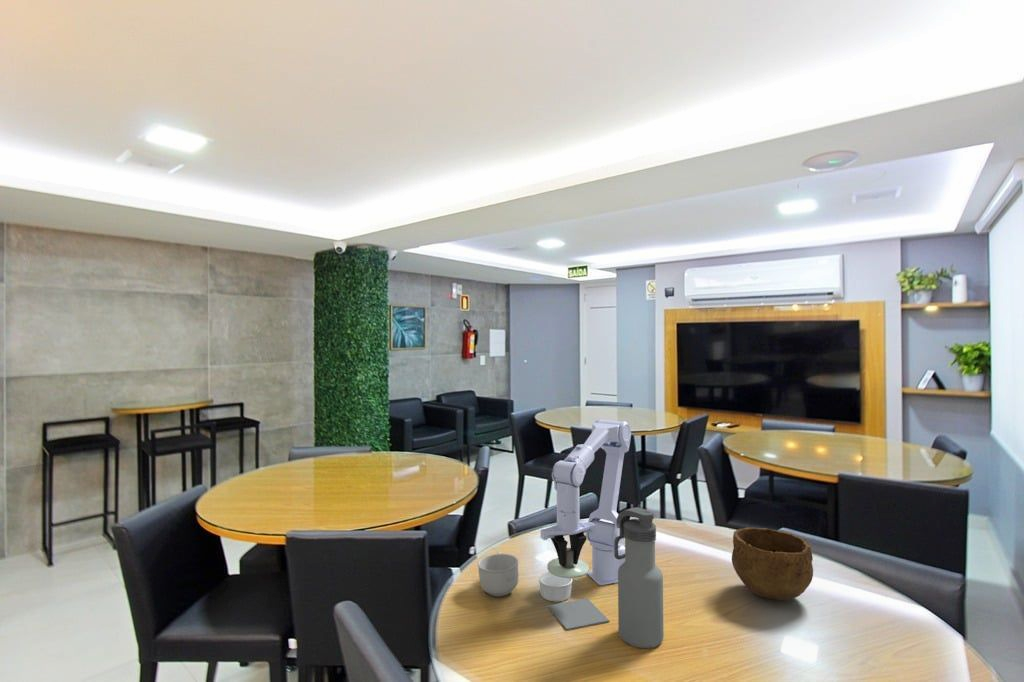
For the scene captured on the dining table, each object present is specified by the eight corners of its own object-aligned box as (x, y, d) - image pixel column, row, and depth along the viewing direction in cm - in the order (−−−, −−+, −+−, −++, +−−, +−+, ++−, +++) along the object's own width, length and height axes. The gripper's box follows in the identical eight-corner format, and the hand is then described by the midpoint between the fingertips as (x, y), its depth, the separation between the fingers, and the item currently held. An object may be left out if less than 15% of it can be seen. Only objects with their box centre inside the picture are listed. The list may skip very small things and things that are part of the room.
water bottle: (607, 633, 111) (606, 509, 112) (635, 619, 117) (634, 501, 118) (644, 655, 103) (643, 521, 104) (672, 639, 109) (671, 511, 110)
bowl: (808, 586, 133) (807, 531, 134) (818, 621, 116) (817, 557, 117) (732, 573, 141) (731, 521, 142) (731, 604, 124) (730, 544, 125)
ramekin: (534, 589, 133) (534, 572, 133) (565, 585, 135) (565, 569, 135) (544, 605, 124) (544, 588, 124) (577, 601, 126) (577, 584, 126)
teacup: (514, 603, 125) (514, 571, 126) (473, 598, 127) (473, 567, 128) (523, 578, 139) (523, 549, 139) (486, 575, 141) (486, 546, 141)
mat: (587, 599, 127) (587, 598, 127) (609, 621, 116) (609, 620, 116) (548, 607, 123) (548, 605, 123) (566, 630, 113) (566, 628, 113)
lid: (576, 557, 131) (576, 539, 131) (597, 573, 121) (597, 555, 121) (540, 563, 127) (540, 545, 127) (559, 581, 117) (559, 561, 117)
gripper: (585, 501, 131) (585, 553, 130) (535, 508, 125) (535, 562, 125) (599, 509, 124) (599, 564, 124) (547, 516, 119) (547, 573, 118)
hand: (568, 564), depth 124 cm, fingers closed on lid, 3 cm apart
